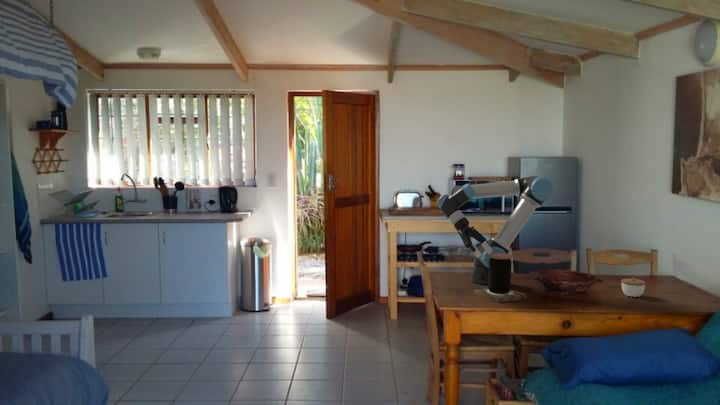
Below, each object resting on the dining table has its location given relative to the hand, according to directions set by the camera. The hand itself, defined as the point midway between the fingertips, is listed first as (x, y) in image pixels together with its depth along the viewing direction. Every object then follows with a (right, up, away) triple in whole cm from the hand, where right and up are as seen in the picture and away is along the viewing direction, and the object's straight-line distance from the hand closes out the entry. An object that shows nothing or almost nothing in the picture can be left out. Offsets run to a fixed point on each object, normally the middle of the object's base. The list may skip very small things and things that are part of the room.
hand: (485, 254), depth 291 cm
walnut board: (+6, -20, -2) cm, 21 cm away
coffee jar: (+6, -18, -2) cm, 19 cm away
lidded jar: (+73, -21, +2) cm, 76 cm away
